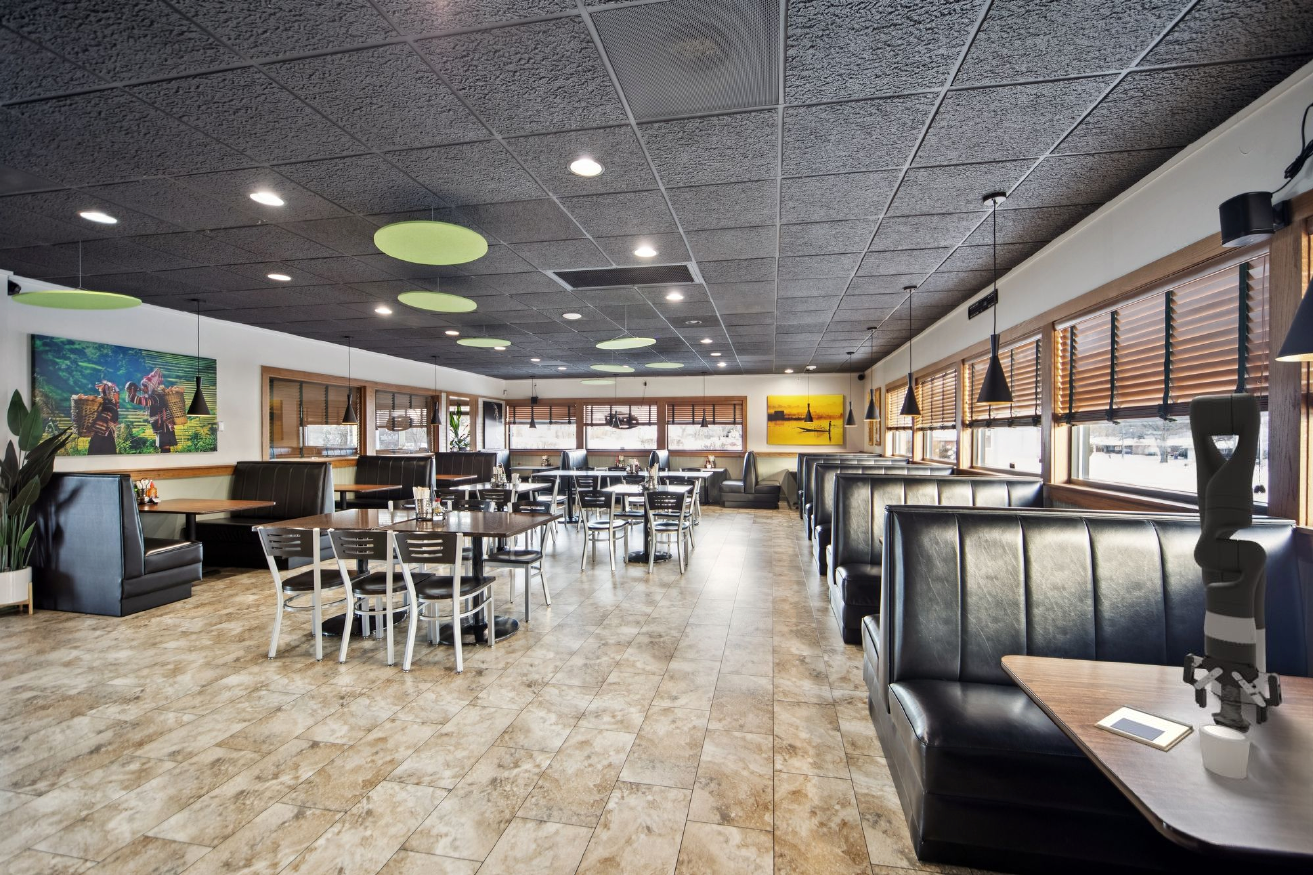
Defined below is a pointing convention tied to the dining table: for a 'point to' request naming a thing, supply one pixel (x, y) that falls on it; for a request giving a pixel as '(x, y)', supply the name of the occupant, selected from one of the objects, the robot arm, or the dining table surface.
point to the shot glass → (1224, 750)
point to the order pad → (1146, 727)
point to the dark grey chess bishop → (1231, 710)
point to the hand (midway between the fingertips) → (1230, 714)
